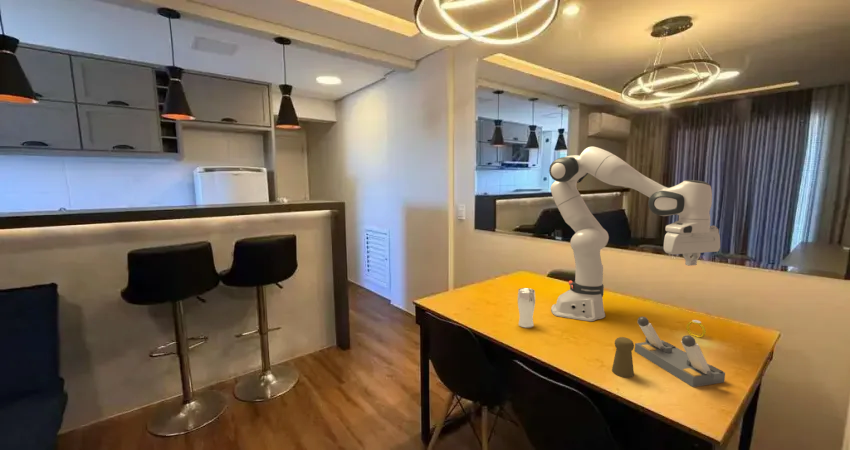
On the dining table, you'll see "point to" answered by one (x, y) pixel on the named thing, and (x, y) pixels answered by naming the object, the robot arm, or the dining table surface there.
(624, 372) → the brown pawn
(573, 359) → the dining table surface
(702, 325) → the watch
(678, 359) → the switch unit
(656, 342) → the lever
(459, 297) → the dining table surface
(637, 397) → the dining table surface
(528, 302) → the beer glass
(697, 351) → the lever
